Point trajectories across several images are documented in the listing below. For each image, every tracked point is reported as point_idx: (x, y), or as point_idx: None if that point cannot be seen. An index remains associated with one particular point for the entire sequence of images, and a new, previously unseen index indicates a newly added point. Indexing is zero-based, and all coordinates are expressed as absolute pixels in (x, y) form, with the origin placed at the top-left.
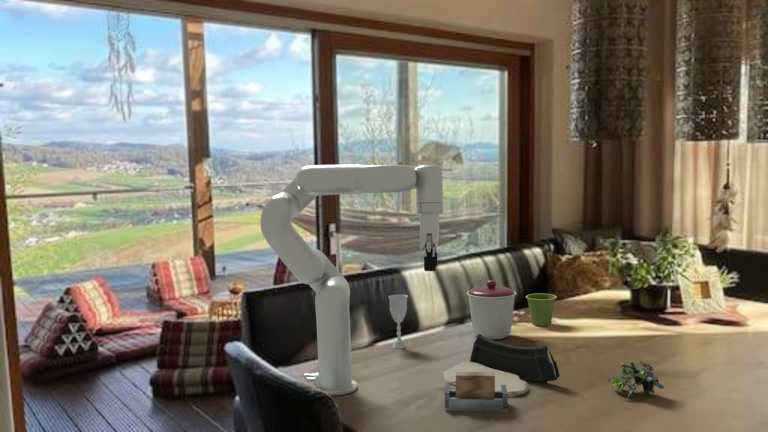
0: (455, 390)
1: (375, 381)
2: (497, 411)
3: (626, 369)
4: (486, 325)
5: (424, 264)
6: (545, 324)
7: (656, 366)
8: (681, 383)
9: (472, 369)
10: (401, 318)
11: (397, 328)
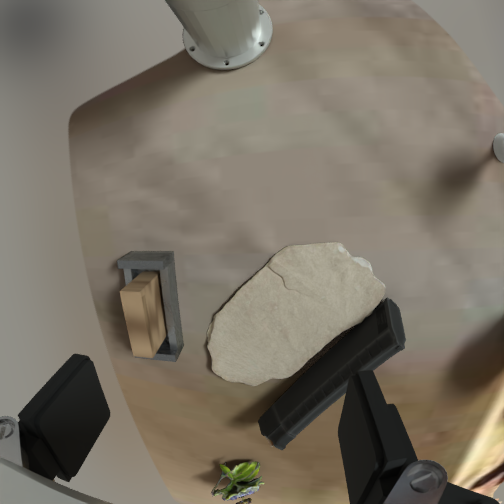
0: (164, 275)
1: (280, 98)
2: None
3: (240, 487)
4: None
5: (52, 380)
6: None
7: (343, 491)
8: (281, 498)
9: (334, 304)
10: None
11: None
